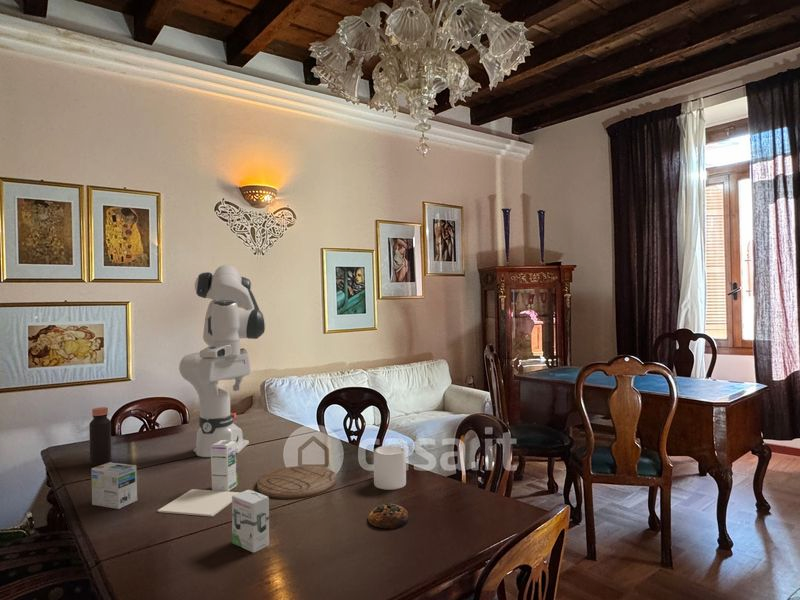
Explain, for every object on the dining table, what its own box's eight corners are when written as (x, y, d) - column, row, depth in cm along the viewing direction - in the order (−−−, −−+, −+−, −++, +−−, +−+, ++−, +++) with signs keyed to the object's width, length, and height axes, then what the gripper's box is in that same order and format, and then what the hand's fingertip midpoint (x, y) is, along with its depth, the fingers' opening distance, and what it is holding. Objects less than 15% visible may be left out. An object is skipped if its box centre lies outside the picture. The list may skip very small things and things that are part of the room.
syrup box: (228, 492, 155) (227, 445, 155) (210, 491, 156) (210, 444, 156) (237, 485, 161) (237, 440, 161) (221, 484, 162) (220, 439, 162)
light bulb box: (138, 500, 150) (137, 464, 150) (118, 509, 143) (118, 472, 143) (110, 496, 153) (110, 461, 153) (90, 505, 147) (90, 468, 147)
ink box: (230, 543, 122) (230, 495, 122) (247, 535, 126) (247, 488, 126) (253, 553, 117) (252, 503, 117) (270, 545, 121) (269, 496, 121)
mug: (367, 477, 167) (366, 444, 167) (396, 473, 171) (395, 441, 171) (379, 491, 154) (379, 456, 154) (410, 486, 158) (410, 452, 158)
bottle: (85, 464, 183) (84, 409, 183) (102, 459, 190) (102, 406, 190) (98, 466, 181) (97, 411, 181) (115, 461, 187) (114, 407, 187)
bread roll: (395, 533, 127) (393, 512, 127) (360, 529, 133) (358, 509, 133) (417, 518, 136) (415, 499, 137) (383, 515, 142) (381, 496, 142)
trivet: (299, 466, 180) (298, 461, 180) (352, 480, 165) (352, 474, 165) (240, 488, 159) (240, 482, 159) (295, 506, 145) (295, 500, 145)
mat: (192, 490, 157) (192, 489, 157) (242, 494, 153) (242, 492, 153) (157, 512, 141) (157, 510, 141) (212, 516, 138) (212, 514, 138)
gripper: (239, 347, 175) (240, 388, 174) (195, 352, 156) (195, 397, 155) (254, 347, 172) (255, 388, 172) (211, 352, 153) (212, 398, 153)
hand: (226, 392), depth 163 cm, fingers open, 8 cm apart
